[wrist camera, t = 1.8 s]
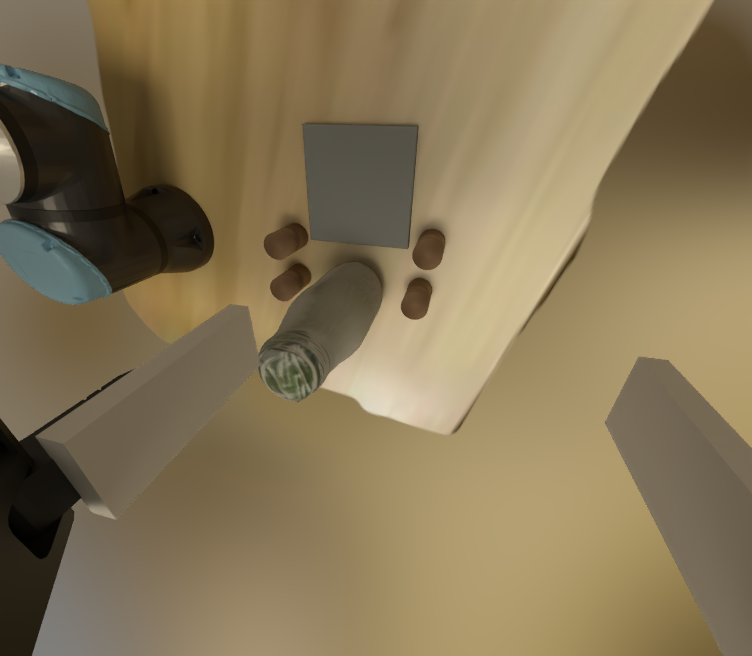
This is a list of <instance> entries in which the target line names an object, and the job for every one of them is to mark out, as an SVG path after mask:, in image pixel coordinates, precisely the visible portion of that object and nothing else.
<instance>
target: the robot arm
mask: <svg viewBox="0 0 752 656" xmlns="http://www.w3.org/2000/svg"><path fill="white" fill-rule="evenodd" d="M109 135H110V133H109V131H108V129H107V127H106V126H105V123H104V119H103V116H102V113H101V110H100V107H99V104H98V103H97V101H96V100H95V98H94V97H93V96H92V95H91V94H90V93H89V92H88V91H87V90H85V89H83V88H81V87H79V86H77V85H75V84H72V83H69V82H66V81H63V80H60V79H57V78H53V77H50V76H47V75H43V74H40V73H36V72H33V71H29V70H25V69H20V68H13V67H11V66H7V65H3V64H0V205H5V204H6V206H7V208H8V210H9V213H10V215H11V218H12V219H8V220H4V221H2V222H1V223H0V254H1V255H2V257H3V259H4V260H5V261H6V262H7V264H8V265H9V266H10V267H11V269H12V270H14V272H16V274H17V275H18V276H19V277H20V278H21V279H23V280H24V281H25V282H26V283H27V284H29V285H30V286H31V287H33V288H34V289H36V290H37V291H38V292H40V293H42V294H43V295H45V296H47V297H49V298H51V299H53V300H56V301H58V302H61V303H66V304H74V305H77V304H84V303H87V302H90V301H94V300H97V299H100V298H104V297H108V296H110V295H111V294H112V293H115V292H117V291H119V290H122V289H124V288H127V287H129V286H131V285H134V284H136V283H138V282H141V281H143V280H145V279H148V278H150V277H152V276H155V275H157V274H160V273H180V272H190V271H193V270H195V269H198V268H200V267H202V266H204V265H205V264H206V263H207V262H208V261H209V259H210V258H211V255H212V252H213V246H214V241H213V234H212V230H211V227H210V224H209V222H208V220H207V218H206V216H205V214H204V212H203V211H202V209H201V208H200V207H199V205H198V204H197V203H196V202H195V201H194V200H193V199H192V198H191V197H190V196H188V195H187V194H186V193H184V192H183V191H181V190H179V189H177V188H175V187H172V186H168V185H156V186H149V187H145V188H143V189H141V190H139V191H137V192H136V193H134V194H133V195H131V196H130V197H128V198H127V199H125V197H124V193H123V189H122V186H121V182H120V178H119V174H118V170H117V166H116V162H115V158H114V154H113V150H112V146H111V142H110V138H109ZM259 366H260V361H259V356H258V351H257V346H256V341H255V337H254V332H253V327H252V322H251V317H250V313H249V308H248V306H240V305H232V304H230V305H229V306H227V307H226V308H224V309H223V310H221V311H220V312H218V313H217V314H215V315H214V316H212V317H211V318H210V319H208V320H207V321H205V322H204V323H202V324H201V325H199V326H198V327H196V328H195V329H193V330H192V331H190V332H189V333H187V334H186V335H184V336H183V337H181V338H180V339H178V340H177V341H175V342H174V343H173V344H171V345H170V346H168V347H167V348H165V349H164V350H162V351H161V352H159V353H158V354H156V355H155V356H153V357H152V358H150V359H149V360H147V361H146V362H145V363H143V364H141V365H140V366H139V367H137V368H135V369H133V370H131V371H129V372H127V373H124V374H122V375H120V376H118V377H116V378H115V379H113V380H112V381H111V382H109V383H107V384H106V385H104V386H103V387H102V388H101V390H97V391H95V392H94V393H92V394H91V395H89V396H88V397H87V399H86V400H82V401H80V402H79V403H77V404H76V405H75V406H73V407H71V408H70V409H68V410H67V411H65V412H64V413H62V414H61V415H59V416H58V417H56V418H55V419H53V420H52V421H50V422H49V423H47V424H46V425H44V426H43V427H41V428H40V429H38V430H37V431H35V432H34V433H32V434H31V435H29V436H28V437H26V438H24V439H23V440H21V441H18V440H17V439H16V438H15V437H14V435H13V434H12V433H11V432H10V430H9V429H8V428H7V426H6V425H5V424H4V422H3V421H2V420H1V419H0V656H32V653H33V650H34V647H35V643H36V640H37V637H38V634H39V630H40V627H41V624H42V621H43V618H44V614H45V611H46V608H47V604H48V601H49V598H50V595H51V592H52V588H53V585H54V582H55V579H56V575H57V572H58V569H59V566H60V563H61V559H62V556H63V553H64V549H65V546H66V543H67V540H68V536H69V534H70V530H71V527H72V524H73V521H74V511H73V510H72V508H71V507H72V506H73V505H74V504H75V503H76V502H77V501H78V500H79V499H80V498H82V500H83V501H84V503H85V504H86V505H87V507H88V508H89V509H90V511H91V512H93V513H96V514H99V515H102V516H106V517H109V518H112V519H115V520H116V519H117V518H118V517H119V516H120V515H121V514H122V513H123V512H124V511H125V509H127V507H128V506H129V505H130V504H131V503H132V502H133V501H134V500H135V499H136V498H137V497H138V496H139V495H140V493H141V492H142V491H143V490H144V489H145V488H146V487H147V486H148V485H149V484H150V483H151V482H152V481H153V480H154V479H155V477H156V476H157V475H158V474H159V473H160V472H161V471H162V470H163V469H164V468H165V467H166V466H167V465H168V464H169V462H170V461H171V460H172V459H173V458H174V457H175V456H176V455H177V454H178V453H179V452H180V451H181V450H182V449H183V447H184V446H185V445H186V444H187V443H188V442H189V441H190V440H191V439H192V438H193V436H195V435H196V433H197V432H198V431H199V430H200V429H201V428H202V427H203V426H204V425H205V424H206V423H207V422H208V421H209V420H210V418H211V417H212V416H213V415H214V414H215V413H216V412H217V411H218V410H219V409H220V408H221V407H222V406H223V404H225V402H226V401H227V400H228V399H229V398H230V397H231V396H232V395H233V394H234V393H235V392H236V390H238V388H239V387H240V386H241V385H242V384H243V383H244V382H245V381H246V380H247V379H248V378H249V377H250V376H251V374H253V372H254V371H255V370H256V369H257V368H258V367H259ZM605 424H606V426H607V428H608V430H609V432H610V434H611V435H612V438H613V440H614V441H615V443H616V446H617V448H618V450H619V452H620V453H621V456H622V458H623V460H624V462H625V464H626V465H627V467H628V469H629V471H630V473H631V475H632V477H633V479H634V481H635V483H636V485H637V487H638V489H639V491H640V493H641V495H642V497H643V499H644V501H645V503H646V505H647V507H648V509H649V511H650V513H651V515H652V517H653V519H654V521H655V523H656V525H657V527H658V529H659V531H660V533H661V535H662V536H663V539H664V541H665V543H666V545H667V547H668V548H669V550H670V552H671V554H672V556H673V558H674V560H675V562H676V564H677V566H678V568H679V570H680V572H681V574H682V576H683V578H684V580H685V582H686V584H687V586H688V588H689V590H690V592H691V594H692V596H693V598H694V600H695V602H696V604H697V606H698V608H699V610H700V612H701V614H702V616H703V618H704V620H705V621H706V624H707V625H708V627H709V630H710V631H711V633H712V635H713V637H714V639H715V641H716V643H717V645H718V647H719V649H720V651H721V653H722V655H723V656H752V448H751V447H750V446H749V445H748V444H747V443H746V442H745V441H744V440H743V439H742V438H741V436H740V435H739V434H738V433H737V432H736V431H735V430H734V429H733V428H732V427H731V426H730V425H729V424H728V423H727V422H726V421H725V420H724V419H723V418H722V417H721V415H720V414H719V413H718V412H717V411H716V410H715V409H714V408H713V407H712V406H711V405H710V404H709V403H708V402H707V401H706V400H705V398H704V397H703V396H702V395H701V394H700V393H699V392H698V391H697V390H696V389H695V388H694V387H693V386H692V385H691V384H690V383H689V382H688V381H687V380H686V378H685V377H684V376H683V375H682V374H681V373H680V372H679V371H678V370H677V369H676V368H675V367H674V366H673V365H672V364H671V363H670V362H669V361H668V360H661V359H654V358H646V357H638V359H637V361H636V363H635V365H634V367H633V369H632V371H631V373H630V375H629V377H628V378H627V380H626V382H625V384H624V386H623V388H622V390H621V392H620V394H619V396H618V398H617V400H616V402H615V404H614V406H613V408H612V410H611V412H610V413H609V415H608V418H607V419H606V421H605Z"/></svg>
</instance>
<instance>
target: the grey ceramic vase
mask: <svg viewBox="0 0 752 656" xmlns="http://www.w3.org/2000/svg"><path fill="white" fill-rule="evenodd" d="M381 301H382V288H381V284H380V281H379V279H378V277H377V275H376V274H375V273H374V272H373V271H372V270H371V269H370V268H369V267H367V266H366V265H364V264H362V263H359V262H348V263H344V264H342V265H339V266H337V267H335V268H334V269H332V270H330V271H329V272H327V273H326V274H325V275H324V276H322V277H321V278H320V279H319V280H318V281H317V282H316V283H314V284H313V285H312V286H310V287H309V288H308V289H306V290H305V291H304V292H302V293H301V294H300V295H299V296H298V297H297V298H296V299H295V300H294V302H293V303H292V304H291V306H290V307H289V309H288V311H287V313H286V315H285V317H284V319H283V321H282V323H281V325H280V327H279V329H278V331H277V332H276V333H275V335H274V336H272V337H271V338H270V339H268V340H267V341H266V342H265V343H264V345H263V346H262V348H261V350H260V352H259V361H260V366H259V367H258V370H259V374H260V377H261V379H262V381H263V382H264V383H265V385H266V386H267V387H268V388H269V389H270V390H271V391H273V392H274V393H275V394H276V395H278V396H280V397H281V398H283V399H286V400H289V401H297V402H299V401H301V400H303V399H304V398H306V397H308V396H309V395H311V394H312V393H313V392H314V391H316V390H317V389H318V388H319V387H320V386H321V385H322V383H323V382H324V381H325V379H326V377H327V375H328V374H329V373H330V372H331V371H332V370H333V369H334V368H335V367H336V366H337V365H338V364H339V363H341V362H342V361H344V360H345V359H347V358H348V357H350V356H351V355H352V354H353V353H354V352H355V351H356V350H357V349H358V348H359V347H360V345H361V344H362V342H363V340H364V338H365V336H366V335H367V333H368V331H369V329H370V326H371V324H372V322H373V321H374V319H375V317H376V315H377V313H378V311H379V308H380V305H381Z"/></svg>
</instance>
